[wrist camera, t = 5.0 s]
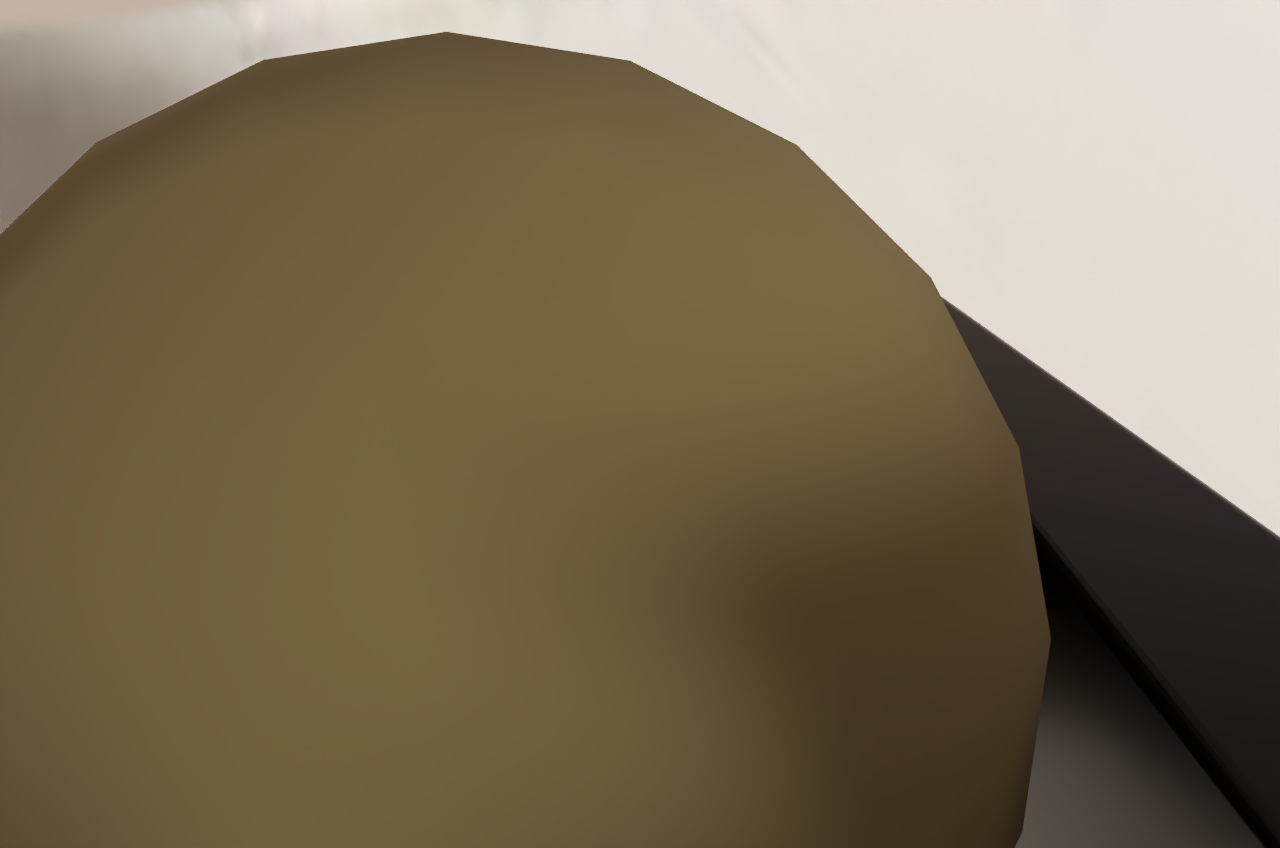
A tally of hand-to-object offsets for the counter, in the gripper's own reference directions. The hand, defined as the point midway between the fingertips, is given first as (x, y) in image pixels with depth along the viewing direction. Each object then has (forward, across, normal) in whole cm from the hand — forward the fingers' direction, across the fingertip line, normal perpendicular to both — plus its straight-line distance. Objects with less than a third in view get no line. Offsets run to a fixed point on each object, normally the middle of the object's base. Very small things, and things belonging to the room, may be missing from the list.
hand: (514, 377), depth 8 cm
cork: (+4, 0, +6) cm, 7 cm away
